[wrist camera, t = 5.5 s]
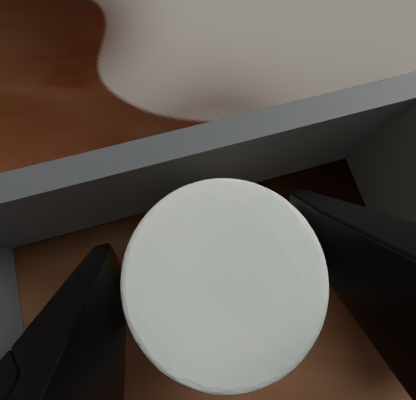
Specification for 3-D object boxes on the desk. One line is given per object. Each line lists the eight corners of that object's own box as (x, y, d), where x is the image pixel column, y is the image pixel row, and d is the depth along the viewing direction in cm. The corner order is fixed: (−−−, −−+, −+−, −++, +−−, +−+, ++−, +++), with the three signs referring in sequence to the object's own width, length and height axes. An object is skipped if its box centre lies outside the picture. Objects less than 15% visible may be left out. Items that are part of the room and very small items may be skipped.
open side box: (443, 340, 15) (606, 383, 9) (19, 487, 13) (-135, 669, 7) (354, 138, 17) (436, 66, 11) (-11, 234, 15) (-142, 207, 9)
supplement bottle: (244, 210, 16) (310, 117, 7) (278, 314, 15) (420, 381, 5) (143, 239, 15) (58, 182, 6) (170, 350, 14) (117, 494, 5)
